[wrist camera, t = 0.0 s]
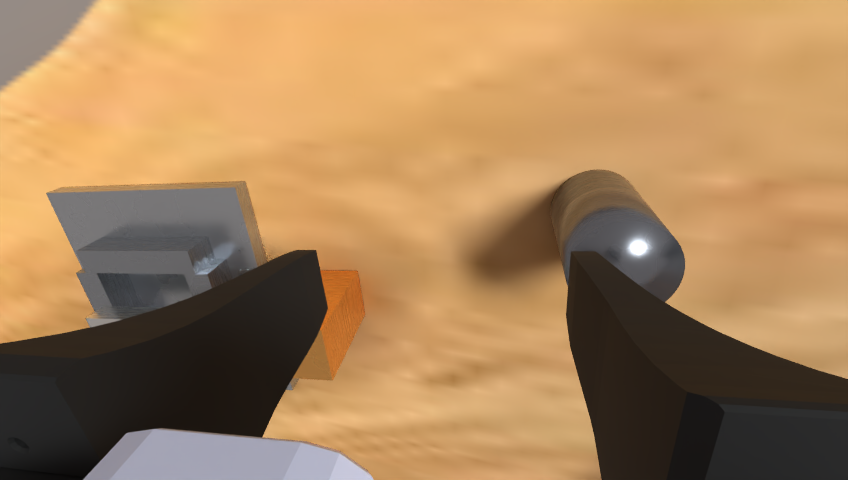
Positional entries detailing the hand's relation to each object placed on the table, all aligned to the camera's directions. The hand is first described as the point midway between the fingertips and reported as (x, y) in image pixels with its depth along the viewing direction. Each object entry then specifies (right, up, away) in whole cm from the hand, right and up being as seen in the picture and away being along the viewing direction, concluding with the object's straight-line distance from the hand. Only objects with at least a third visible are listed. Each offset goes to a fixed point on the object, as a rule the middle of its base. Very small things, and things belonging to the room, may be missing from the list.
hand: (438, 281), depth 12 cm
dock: (-15, -2, +15) cm, 22 cm away
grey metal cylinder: (+8, +3, +9) cm, 12 cm away
